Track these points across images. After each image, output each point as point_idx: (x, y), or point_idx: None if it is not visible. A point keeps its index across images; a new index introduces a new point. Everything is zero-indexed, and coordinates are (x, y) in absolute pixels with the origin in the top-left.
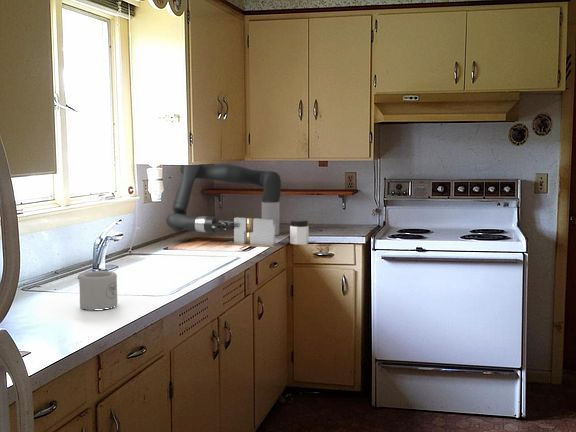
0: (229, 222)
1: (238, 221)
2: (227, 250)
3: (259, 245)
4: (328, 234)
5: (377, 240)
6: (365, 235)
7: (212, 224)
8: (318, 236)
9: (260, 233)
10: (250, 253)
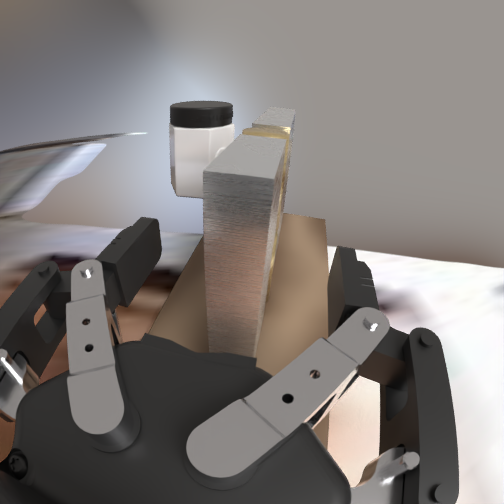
0: (107, 306)
1: (276, 194)
2: None
3: (294, 253)
4: (27, 172)
5: (134, 134)
6: (70, 145)
7: (455, 490)
8: (43, 178)
9: (283, 198)
10: (428, 275)
